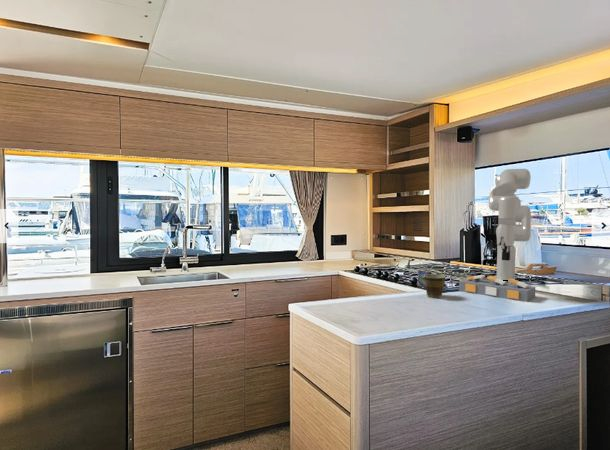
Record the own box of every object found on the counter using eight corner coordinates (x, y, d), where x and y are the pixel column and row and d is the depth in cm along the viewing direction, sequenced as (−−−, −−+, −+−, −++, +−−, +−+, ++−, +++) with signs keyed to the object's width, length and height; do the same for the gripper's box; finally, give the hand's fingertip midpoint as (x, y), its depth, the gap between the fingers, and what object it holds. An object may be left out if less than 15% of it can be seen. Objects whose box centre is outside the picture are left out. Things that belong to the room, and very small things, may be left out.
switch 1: (470, 279, 218) (469, 276, 219) (485, 277, 213) (484, 274, 213) (466, 280, 216) (466, 277, 216) (482, 279, 210) (481, 275, 210)
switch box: (468, 286, 223) (469, 275, 223) (535, 297, 201) (535, 283, 201) (458, 291, 214) (458, 278, 214) (526, 302, 192) (527, 288, 192)
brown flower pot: (442, 294, 208) (442, 274, 207) (447, 299, 198) (447, 278, 198) (415, 293, 209) (415, 273, 209) (419, 298, 200) (419, 277, 199)
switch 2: (489, 278, 212) (490, 275, 211) (505, 284, 206) (506, 281, 206) (486, 279, 209) (487, 276, 208) (502, 286, 204) (503, 283, 203)
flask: (416, 285, 227) (416, 266, 226) (420, 285, 228) (420, 265, 228) (428, 289, 219) (429, 268, 218) (433, 288, 220) (433, 268, 219)
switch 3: (510, 281, 205) (511, 278, 204) (527, 287, 199) (528, 284, 199) (507, 282, 202) (508, 279, 201) (524, 289, 197) (525, 286, 196)
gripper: (504, 221, 210) (503, 257, 211) (492, 222, 200) (491, 261, 201) (520, 221, 205) (519, 259, 206) (509, 223, 194) (508, 262, 196)
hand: (505, 260), depth 203 cm, fingers closed
